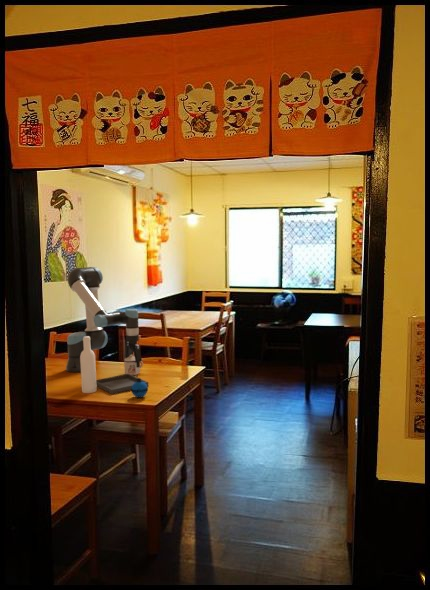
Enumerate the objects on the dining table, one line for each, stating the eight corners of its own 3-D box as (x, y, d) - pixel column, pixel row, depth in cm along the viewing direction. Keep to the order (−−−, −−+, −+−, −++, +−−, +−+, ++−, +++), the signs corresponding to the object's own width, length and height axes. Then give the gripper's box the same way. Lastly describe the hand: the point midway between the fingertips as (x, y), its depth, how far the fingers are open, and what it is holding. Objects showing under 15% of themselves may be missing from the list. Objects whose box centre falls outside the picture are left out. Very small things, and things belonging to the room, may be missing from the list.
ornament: (150, 395, 262) (149, 376, 261) (144, 400, 254) (143, 380, 253) (135, 394, 264) (134, 375, 263) (128, 399, 256) (127, 380, 255)
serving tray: (93, 384, 284) (93, 380, 284) (128, 377, 297) (128, 373, 297) (112, 394, 265) (111, 389, 265) (148, 386, 278) (148, 382, 278)
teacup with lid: (128, 376, 299) (127, 357, 298) (121, 373, 307) (121, 354, 305) (146, 373, 306) (145, 354, 304) (139, 370, 313) (139, 351, 312)
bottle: (79, 391, 272) (76, 337, 269) (92, 388, 277) (89, 334, 274) (86, 394, 266) (83, 338, 263) (99, 390, 272) (96, 336, 269)
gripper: (146, 336, 297) (148, 373, 300) (129, 331, 314) (131, 366, 317) (135, 338, 293) (136, 375, 295) (118, 332, 310) (120, 368, 312)
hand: (133, 370), depth 306 cm, fingers closed on teacup with lid, 9 cm apart
